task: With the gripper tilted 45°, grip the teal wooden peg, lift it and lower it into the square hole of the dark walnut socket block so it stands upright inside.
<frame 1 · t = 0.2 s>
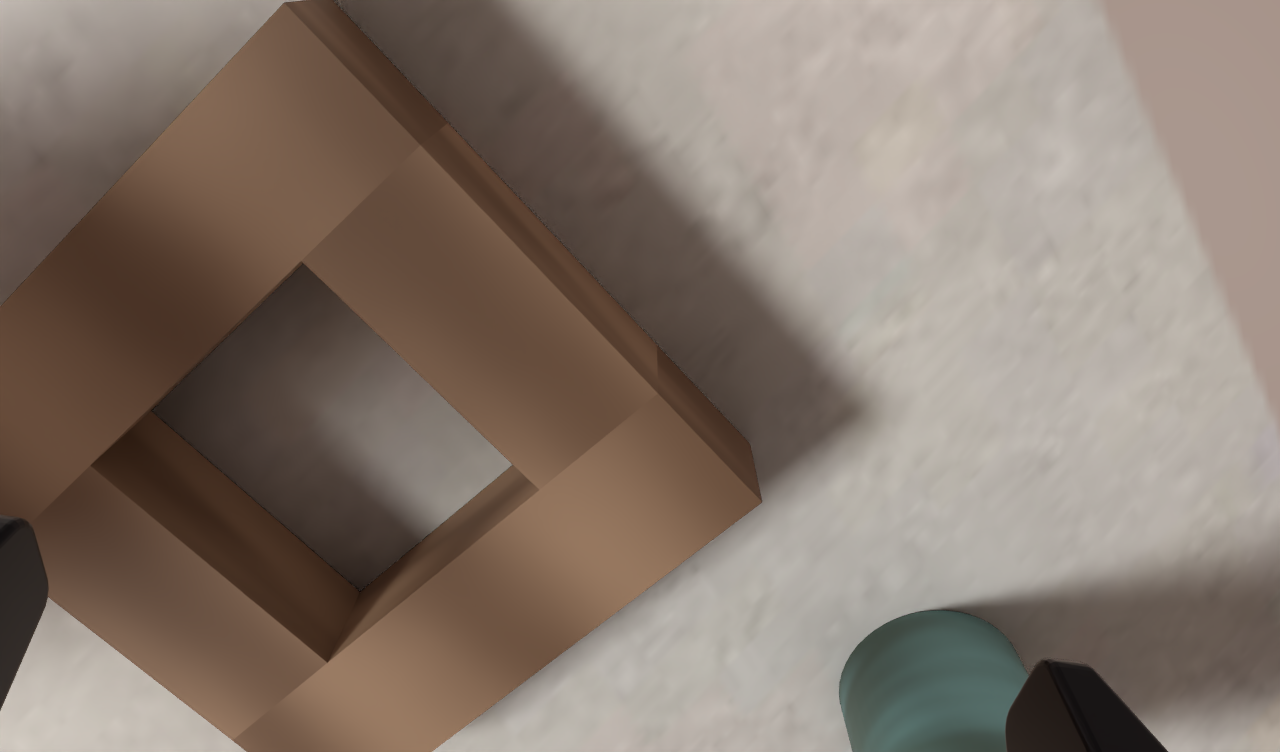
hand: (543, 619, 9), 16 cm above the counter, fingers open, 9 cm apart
walnut socket block: (351, 422, 26), on the counter
teal peg: (930, 687, 29), on the counter
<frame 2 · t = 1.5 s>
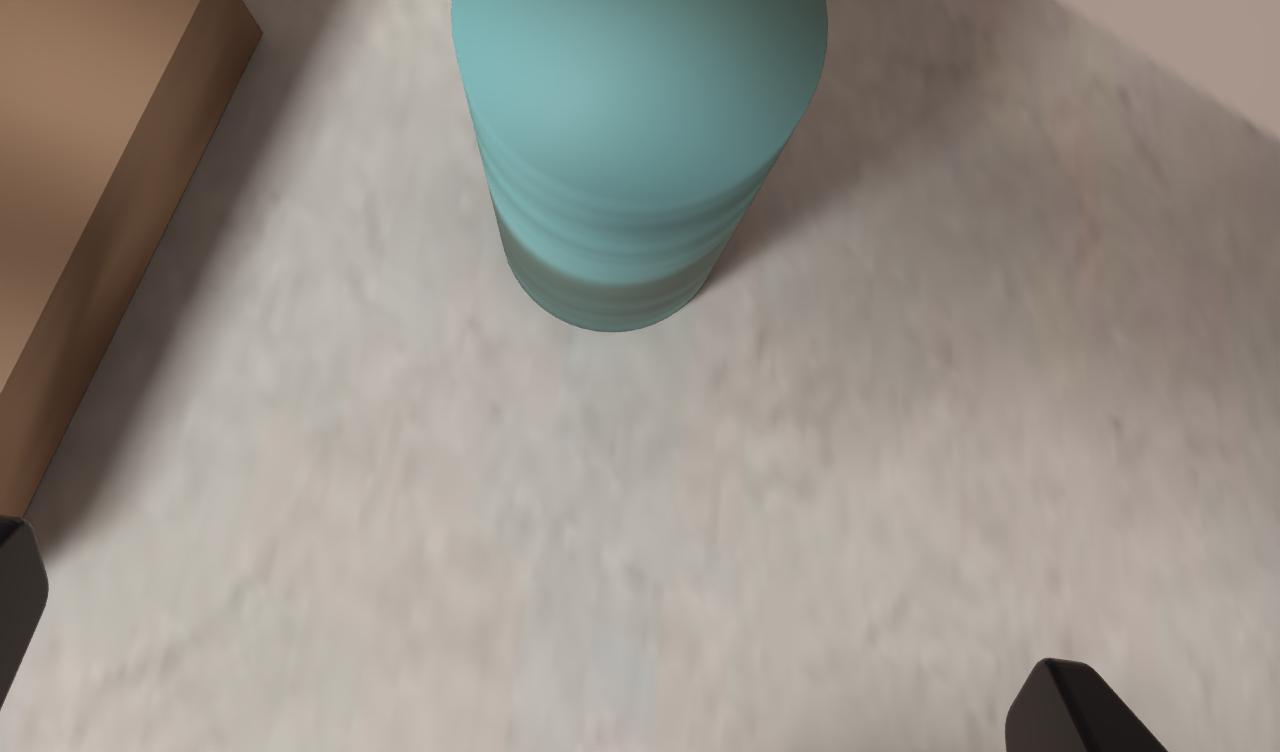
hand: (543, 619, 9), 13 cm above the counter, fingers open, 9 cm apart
teal peg: (611, 223, 24), on the counter
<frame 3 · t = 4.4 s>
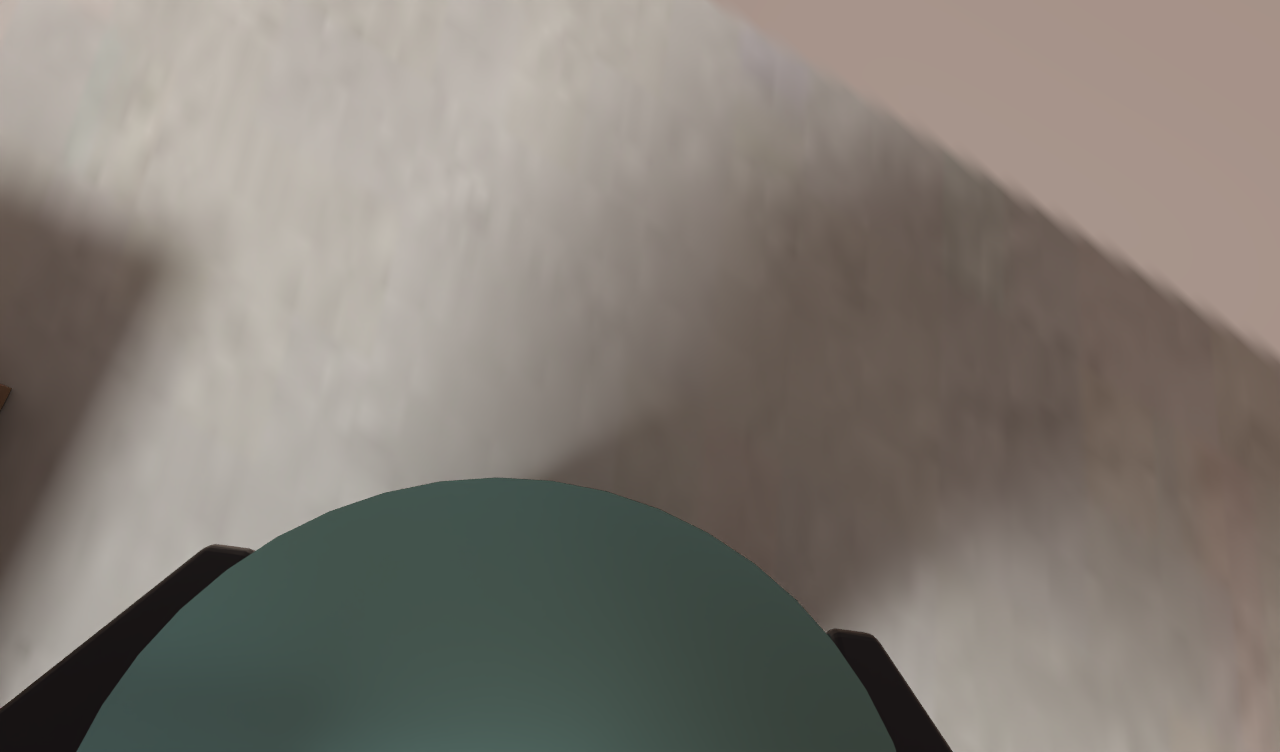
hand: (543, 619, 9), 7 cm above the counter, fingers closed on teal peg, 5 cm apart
teal peg: (539, 674, 16), on the counter, touching gripper
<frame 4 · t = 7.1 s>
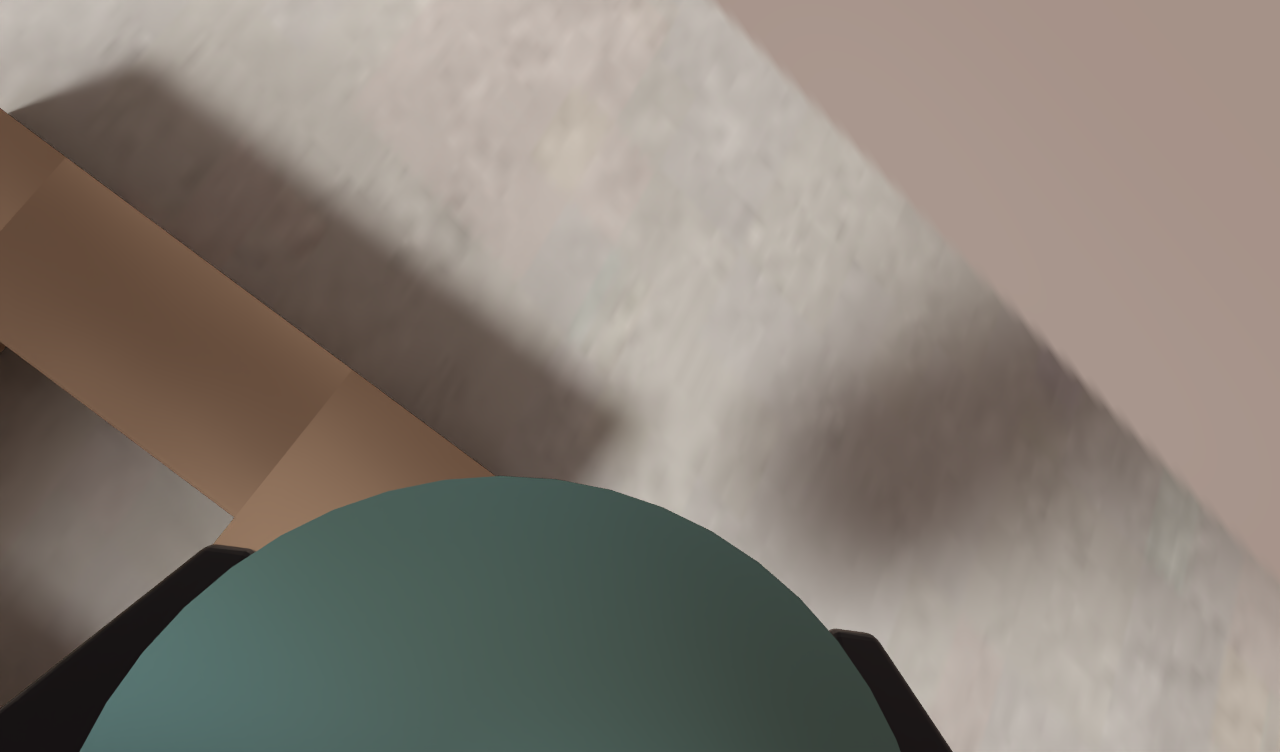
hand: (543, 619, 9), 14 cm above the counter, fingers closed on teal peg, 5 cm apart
walnut socket block: (40, 554, 22), on the counter
teal peg: (540, 673, 16), point 7 cm above the counter, touching gripper
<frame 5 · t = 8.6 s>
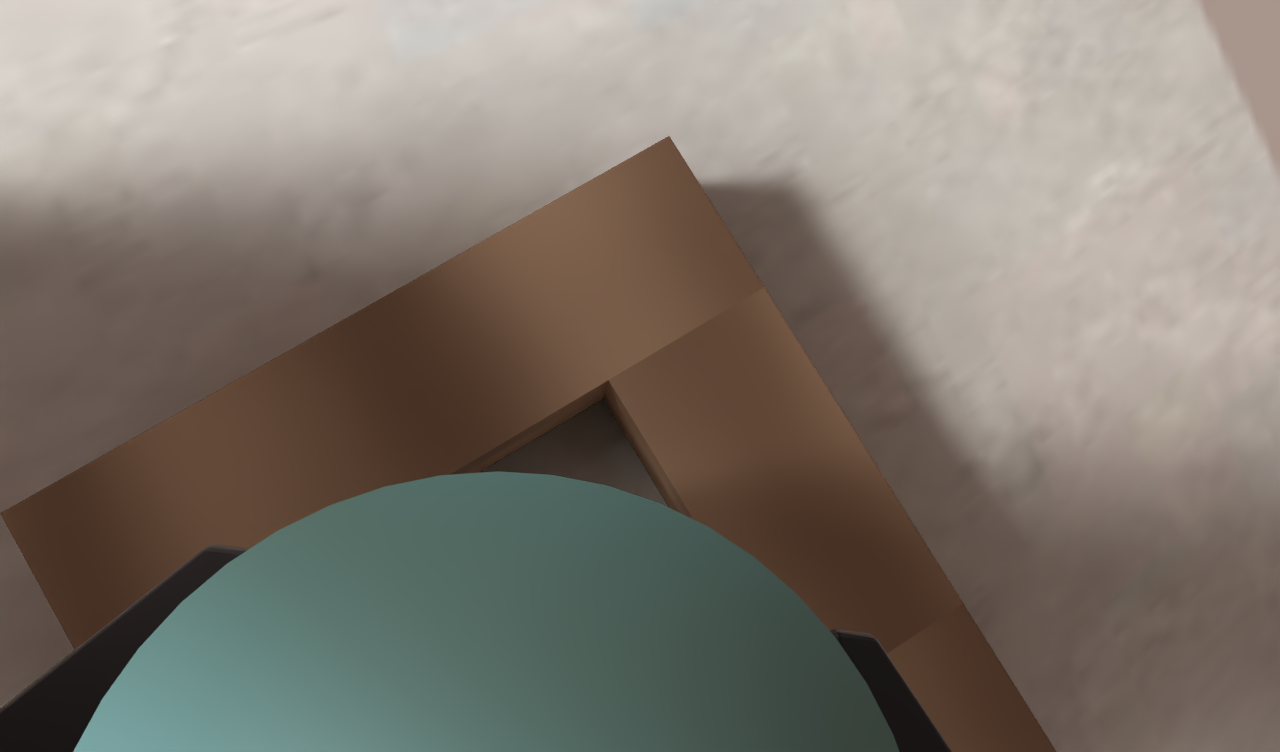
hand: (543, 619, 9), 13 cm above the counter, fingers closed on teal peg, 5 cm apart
walnut socket block: (546, 626, 22), on the counter
teal peg: (539, 672, 16), point 6 cm above the counter, touching gripper
when the fingers open (8 cm above the counter, at t = 10.0 s): teal peg drops 1 cm, resting in walnut socket block.
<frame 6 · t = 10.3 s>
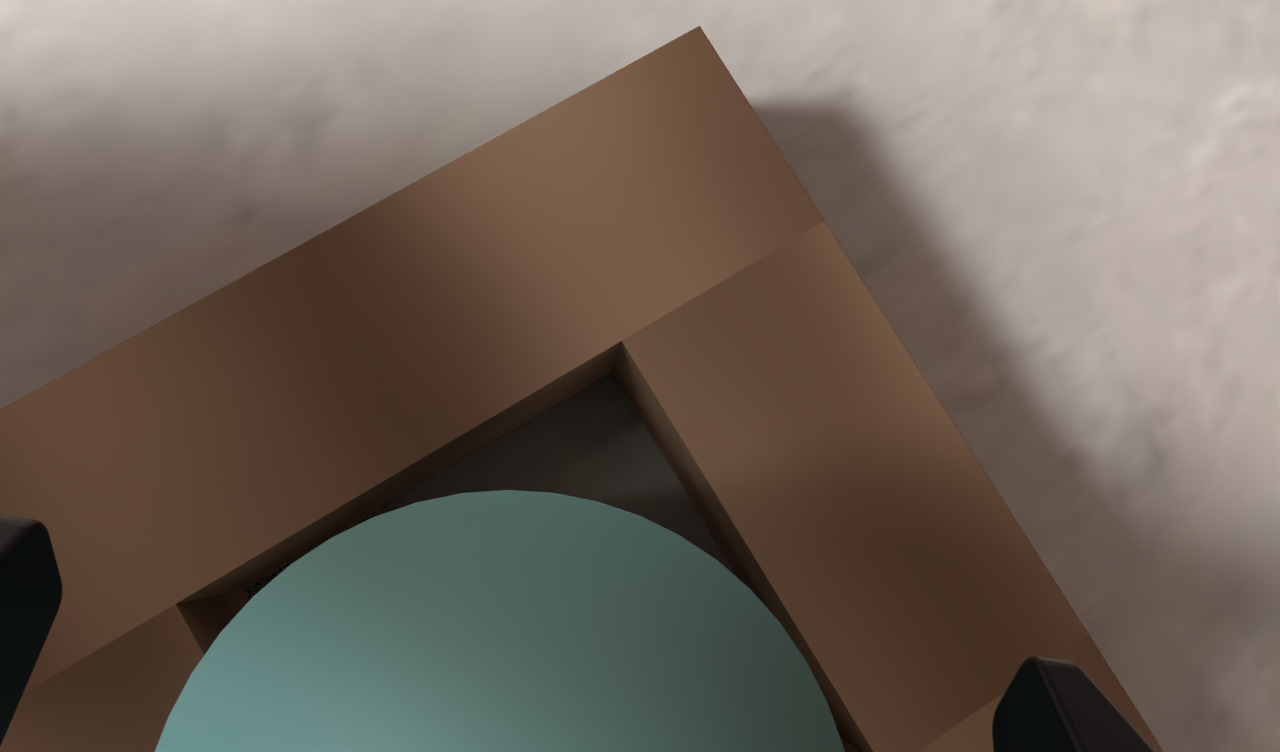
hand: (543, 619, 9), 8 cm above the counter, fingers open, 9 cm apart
walnut socket block: (540, 660, 17), on the counter
teal peg: (540, 662, 17), resting in walnut socket block
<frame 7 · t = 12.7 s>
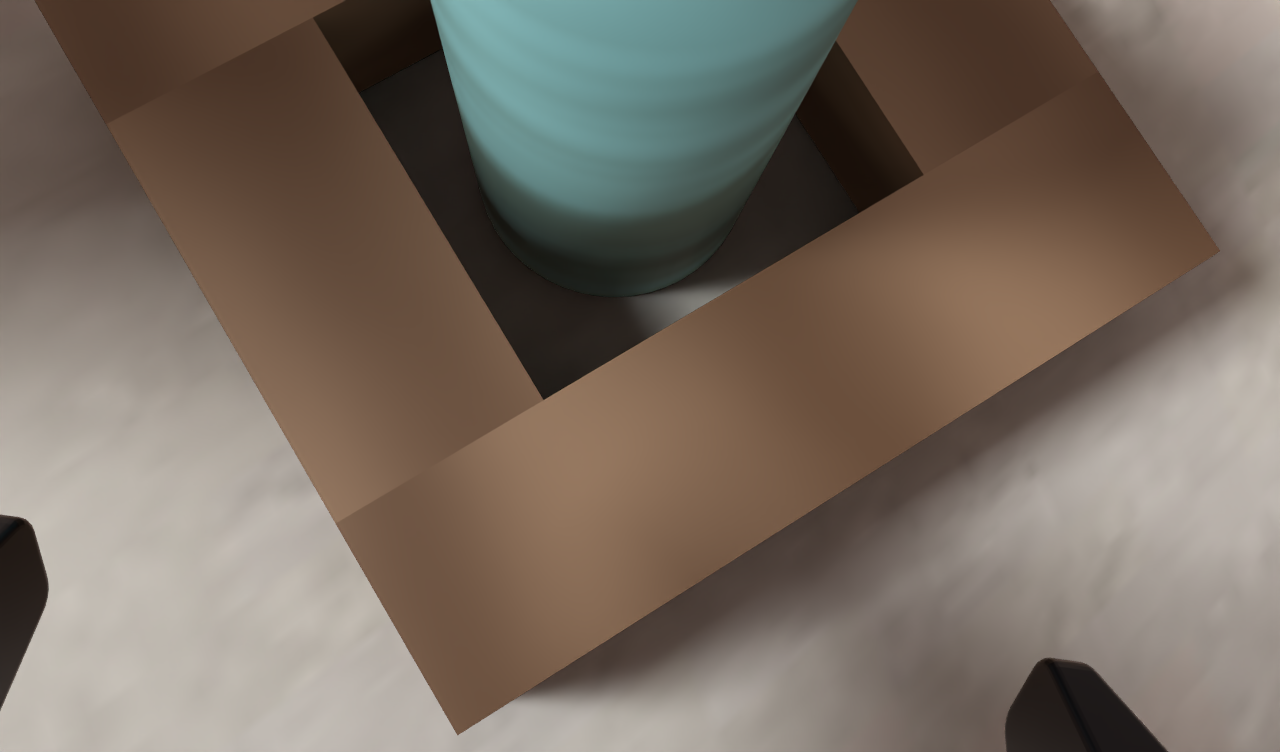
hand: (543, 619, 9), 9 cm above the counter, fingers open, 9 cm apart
walnut socket block: (612, 162, 19), on the counter
teal peg: (612, 165, 19), resting in walnut socket block
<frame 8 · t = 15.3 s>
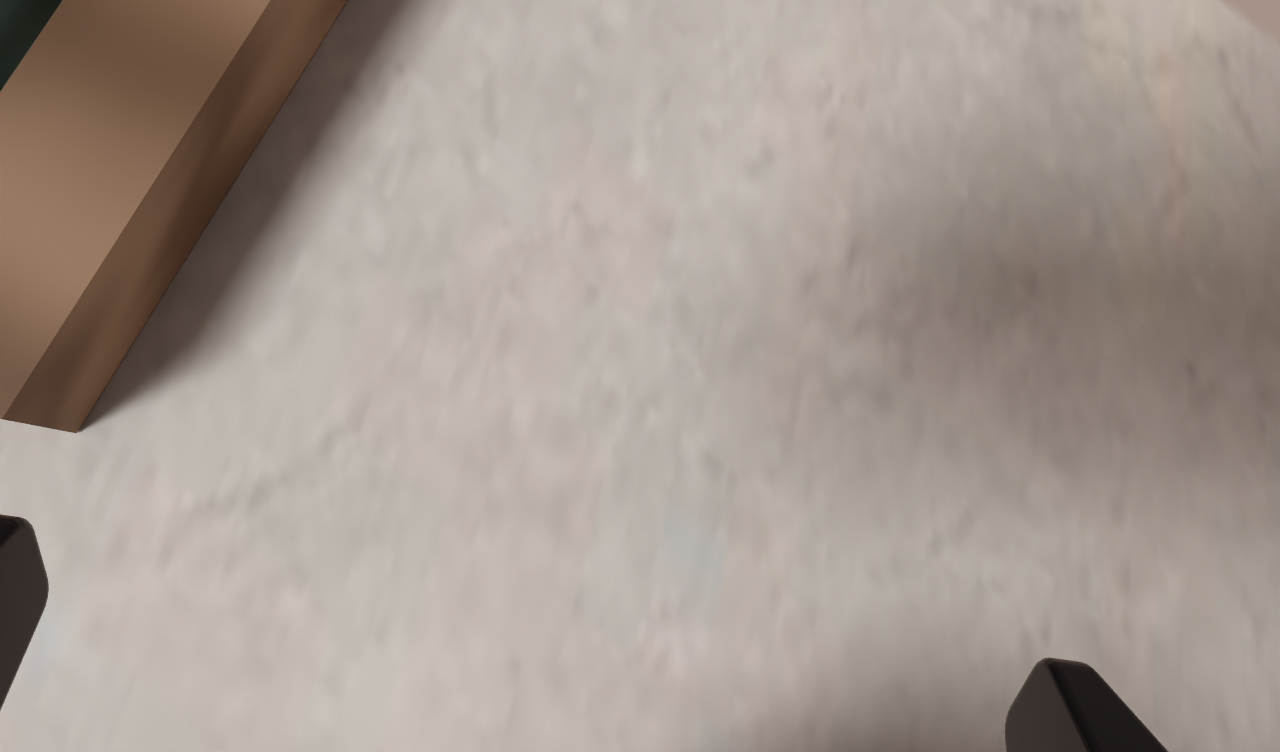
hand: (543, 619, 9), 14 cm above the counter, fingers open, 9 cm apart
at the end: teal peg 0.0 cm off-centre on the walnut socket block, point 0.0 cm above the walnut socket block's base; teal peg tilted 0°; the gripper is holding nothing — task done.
